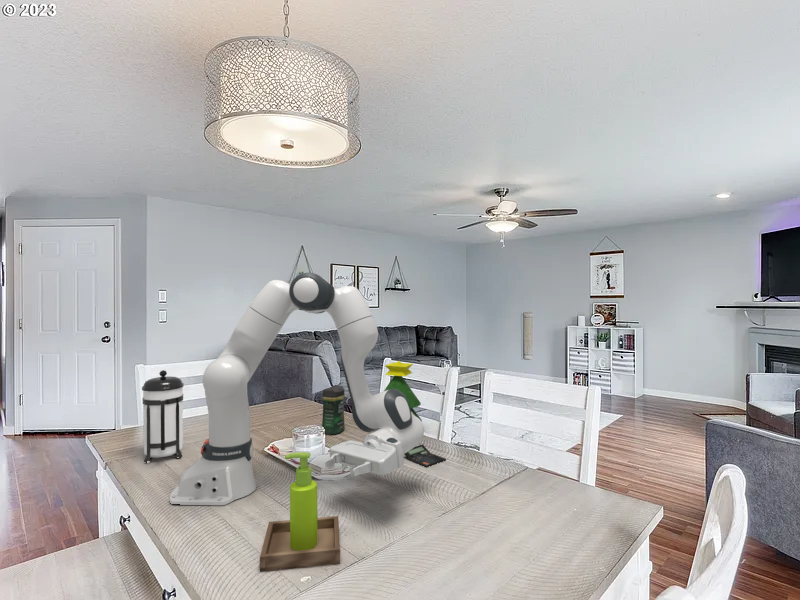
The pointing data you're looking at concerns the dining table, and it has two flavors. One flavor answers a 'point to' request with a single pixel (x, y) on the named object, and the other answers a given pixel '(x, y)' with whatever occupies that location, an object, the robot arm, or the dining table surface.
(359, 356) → the robot arm
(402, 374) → the decorative tree
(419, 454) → the calculator
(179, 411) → the coffee press
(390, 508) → the dining table surface
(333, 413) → the coffee jar
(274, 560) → the holder tray
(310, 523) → the soap dispenser
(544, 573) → the dining table surface
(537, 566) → the dining table surface
